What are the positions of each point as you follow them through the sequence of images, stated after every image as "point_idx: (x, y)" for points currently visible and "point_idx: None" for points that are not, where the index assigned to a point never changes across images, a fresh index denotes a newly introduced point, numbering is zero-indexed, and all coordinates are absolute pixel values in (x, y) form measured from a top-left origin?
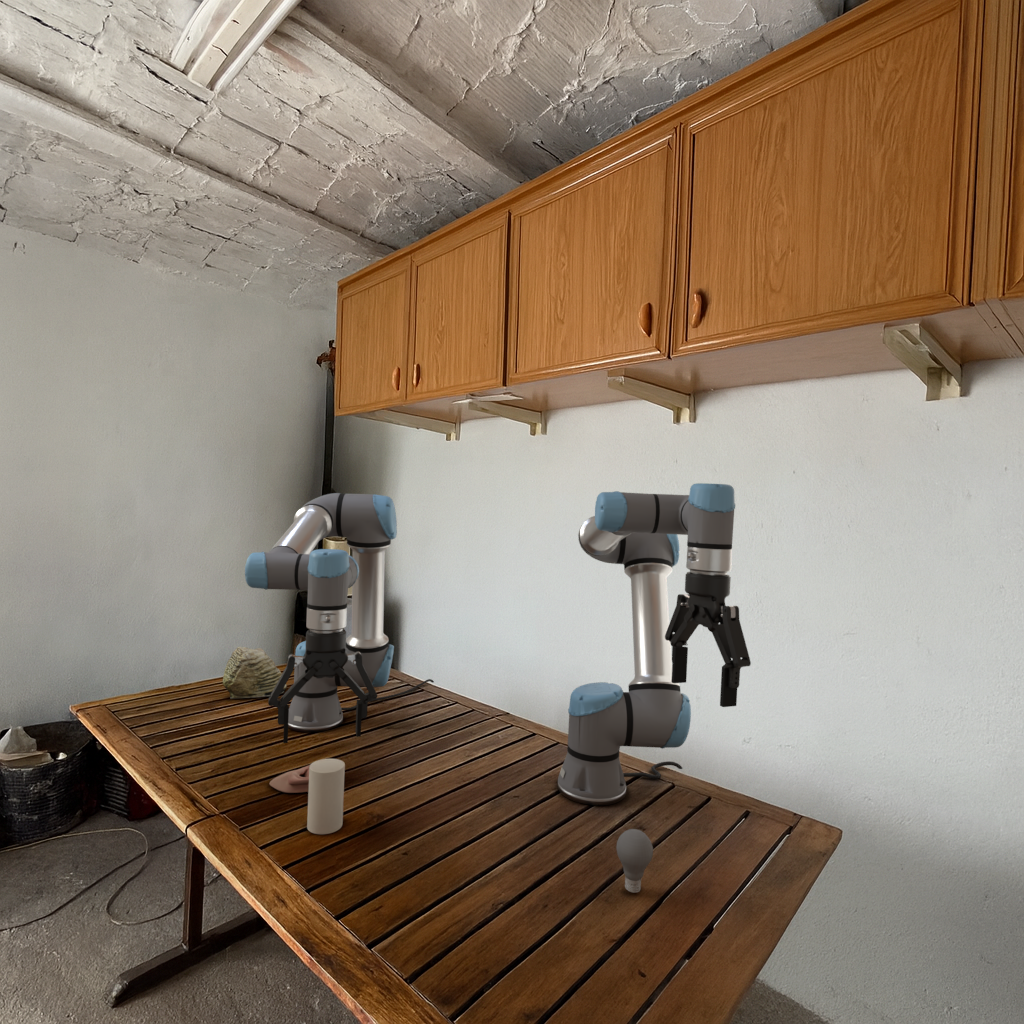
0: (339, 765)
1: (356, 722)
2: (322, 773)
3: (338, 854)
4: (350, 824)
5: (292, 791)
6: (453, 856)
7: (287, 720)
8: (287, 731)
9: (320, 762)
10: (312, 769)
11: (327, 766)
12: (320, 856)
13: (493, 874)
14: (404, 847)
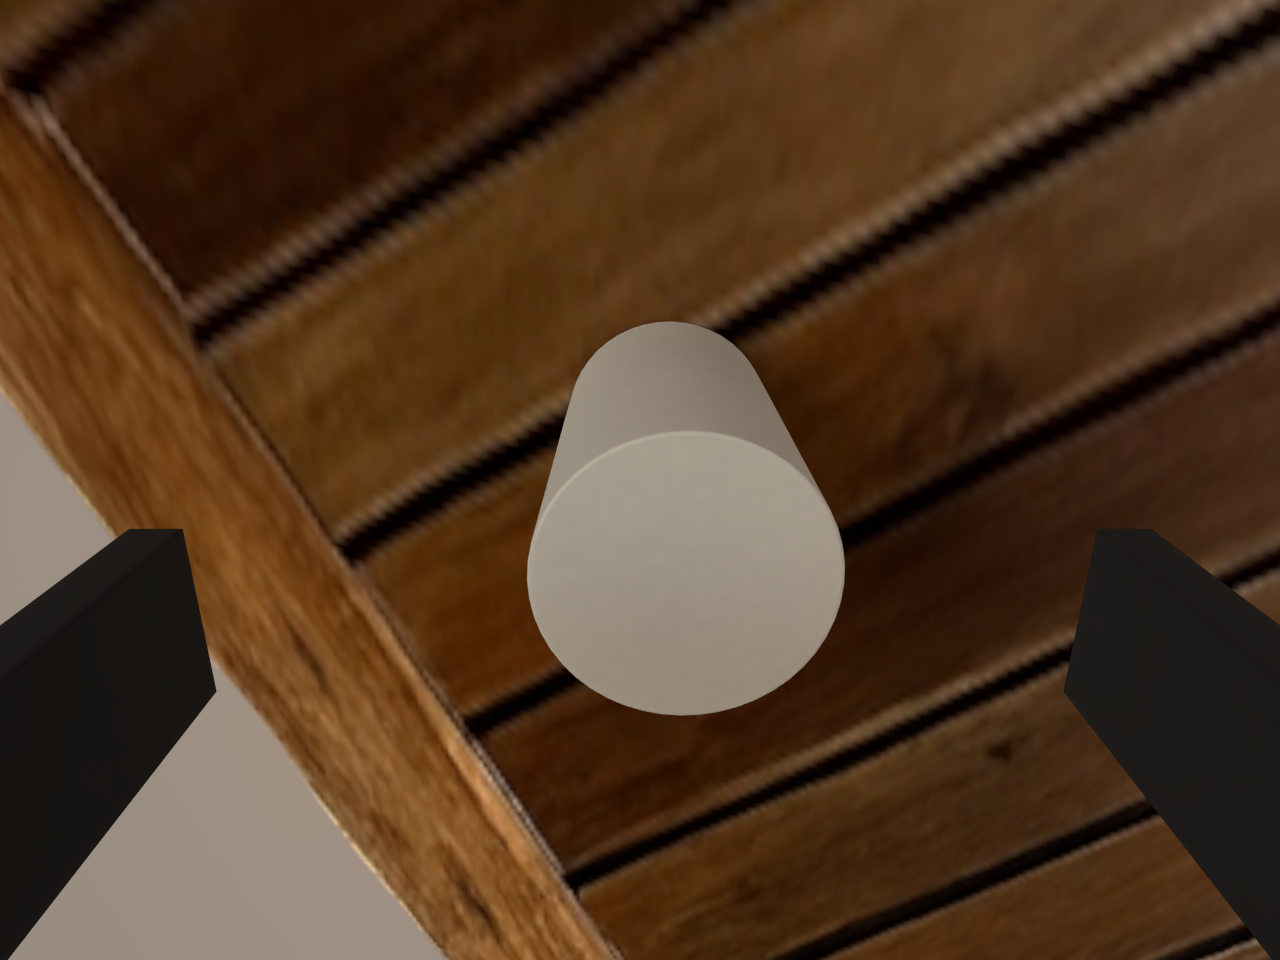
0: (792, 608)
1: (1174, 694)
2: (635, 707)
3: None
4: (808, 440)
5: None
6: None
7: (13, 928)
8: (130, 796)
9: (628, 506)
10: (553, 635)
11: (685, 606)
12: None
13: None
14: (1014, 708)
